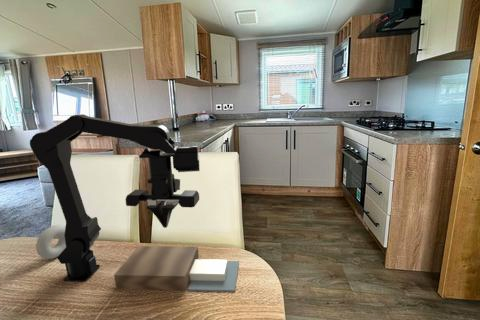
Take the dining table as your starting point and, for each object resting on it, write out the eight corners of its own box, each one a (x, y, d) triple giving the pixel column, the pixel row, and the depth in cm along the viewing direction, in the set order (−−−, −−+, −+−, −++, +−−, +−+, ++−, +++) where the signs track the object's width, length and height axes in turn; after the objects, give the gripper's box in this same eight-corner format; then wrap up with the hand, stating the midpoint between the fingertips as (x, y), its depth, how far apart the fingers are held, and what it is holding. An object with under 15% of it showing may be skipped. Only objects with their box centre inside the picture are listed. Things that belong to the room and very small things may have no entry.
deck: (116, 288, 65) (113, 275, 64) (140, 258, 77) (138, 246, 76) (186, 290, 63) (184, 276, 62) (198, 258, 76) (197, 246, 75)
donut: (45, 266, 75) (37, 235, 73) (37, 264, 76) (29, 234, 74) (76, 248, 84) (70, 220, 82) (68, 246, 85) (62, 219, 83)
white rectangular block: (190, 280, 66) (189, 273, 66) (195, 265, 72) (195, 259, 71) (224, 280, 65) (224, 274, 65) (227, 266, 71) (227, 259, 71)
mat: (188, 290, 63) (188, 289, 63) (199, 261, 74) (199, 260, 74) (234, 291, 62) (234, 290, 62) (238, 262, 73) (238, 261, 73)
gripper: (202, 165, 75) (205, 215, 79) (141, 165, 77) (146, 213, 80) (191, 176, 64) (195, 233, 68) (121, 175, 66) (128, 231, 70)
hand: (165, 227), depth 72 cm, fingers closed
